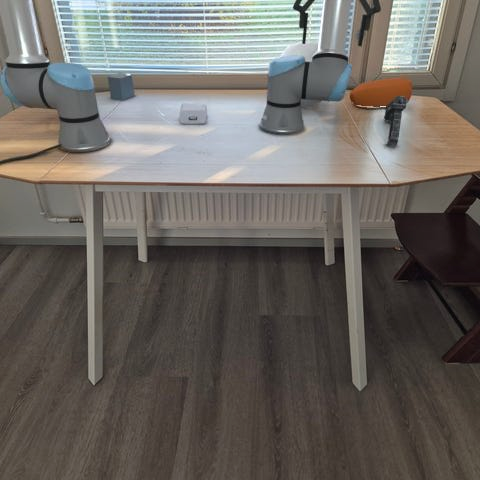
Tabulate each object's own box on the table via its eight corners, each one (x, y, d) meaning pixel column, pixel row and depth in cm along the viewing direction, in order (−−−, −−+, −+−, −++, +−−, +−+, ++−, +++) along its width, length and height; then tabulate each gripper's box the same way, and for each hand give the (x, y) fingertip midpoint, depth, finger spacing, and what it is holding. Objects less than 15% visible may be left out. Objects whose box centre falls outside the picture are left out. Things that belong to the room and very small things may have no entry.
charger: (207, 110, 158) (206, 123, 146) (183, 110, 158) (180, 123, 146) (206, 98, 156) (205, 110, 143) (182, 98, 155) (179, 110, 143)
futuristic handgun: (389, 146, 153) (397, 104, 149) (399, 145, 125) (409, 94, 122) (379, 144, 154) (386, 103, 150) (386, 144, 126) (395, 93, 122)
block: (134, 96, 175) (131, 74, 170) (123, 100, 169) (119, 78, 164) (123, 94, 177) (119, 72, 172) (111, 98, 171) (107, 76, 166)
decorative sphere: (262, 73, 173) (275, 25, 150) (318, 71, 177) (338, 25, 154) (272, 121, 166) (286, 79, 143) (329, 118, 170) (353, 77, 147)
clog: (353, 116, 162) (414, 107, 163) (355, 88, 156) (419, 80, 157) (344, 107, 172) (401, 99, 173) (345, 80, 165) (405, 72, 166)
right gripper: (402, -62, 89) (381, 43, 102) (289, -63, 93) (282, 39, 105) (407, -64, 83) (385, 49, 96) (286, -65, 87) (279, 44, 99)
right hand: (331, 44), depth 100 cm, fingers open, 13 cm apart
